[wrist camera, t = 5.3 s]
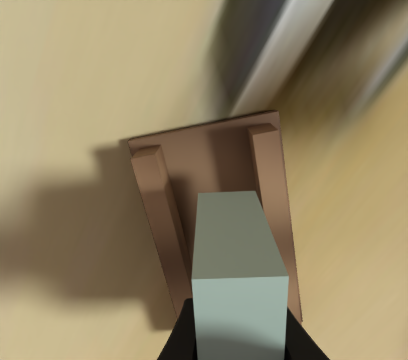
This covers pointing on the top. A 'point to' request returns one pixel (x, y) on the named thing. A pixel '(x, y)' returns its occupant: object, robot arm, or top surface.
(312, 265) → the top surface
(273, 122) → the floor track
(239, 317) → the pale teal block
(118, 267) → the top surface
